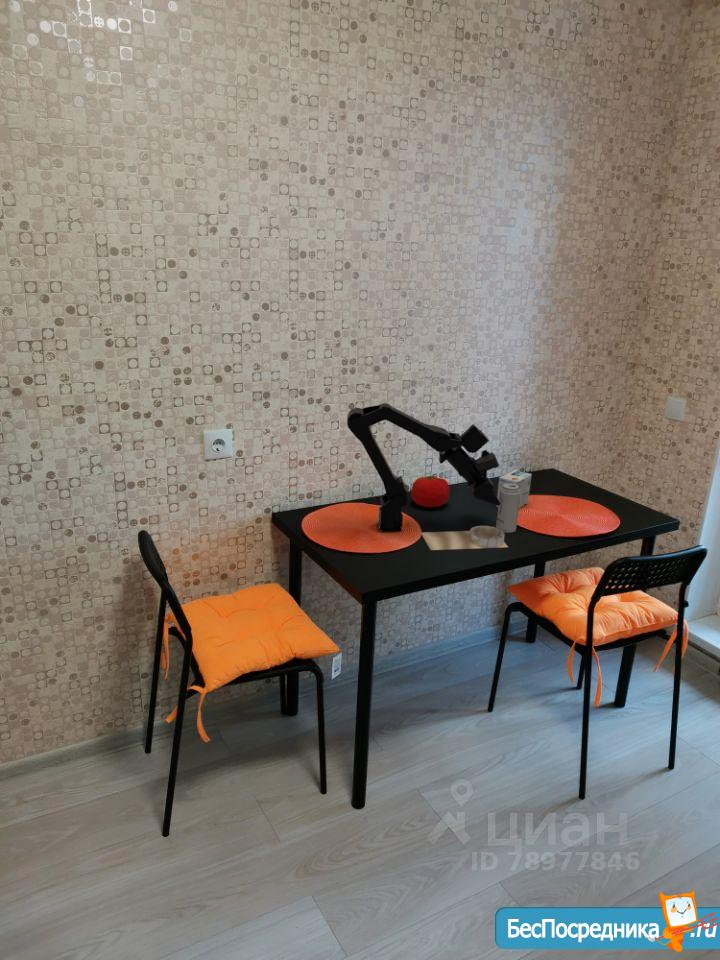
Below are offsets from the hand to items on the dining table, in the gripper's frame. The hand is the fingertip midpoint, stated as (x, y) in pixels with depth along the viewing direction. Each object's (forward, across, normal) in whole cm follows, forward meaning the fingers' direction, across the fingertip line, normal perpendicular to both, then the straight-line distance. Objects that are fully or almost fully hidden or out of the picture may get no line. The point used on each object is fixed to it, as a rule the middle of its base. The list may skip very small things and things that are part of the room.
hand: (496, 499), depth 220 cm
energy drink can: (+10, 0, +5) cm, 11 cm away
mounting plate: (0, -10, +15) cm, 18 cm away
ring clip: (+4, -9, +9) cm, 14 cm away
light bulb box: (+15, +22, +1) cm, 27 cm away
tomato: (-5, +20, +20) cm, 29 cm away
